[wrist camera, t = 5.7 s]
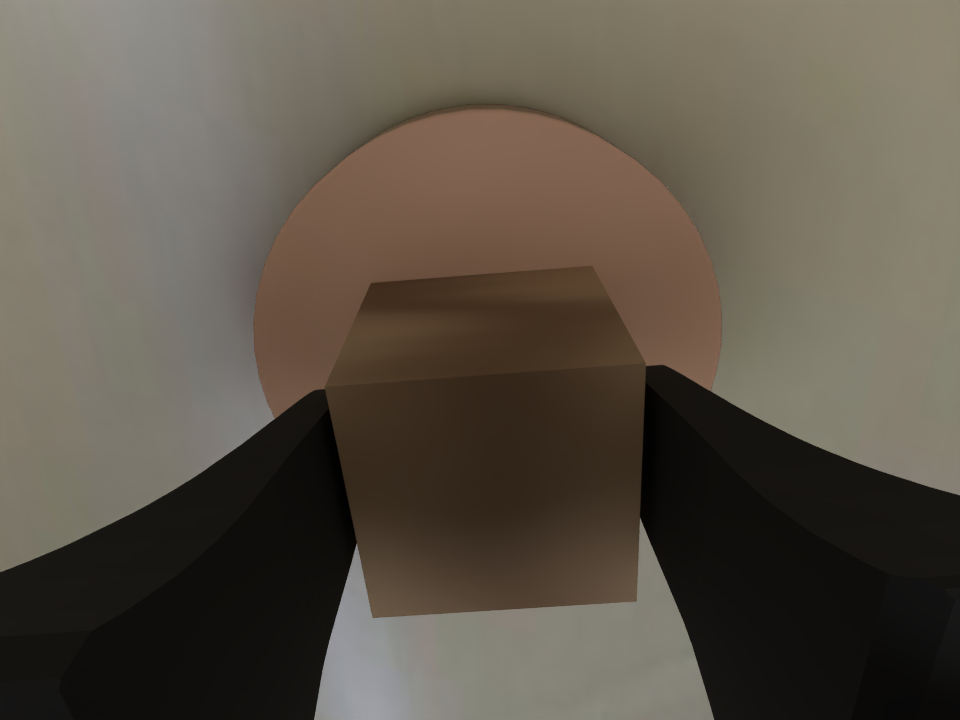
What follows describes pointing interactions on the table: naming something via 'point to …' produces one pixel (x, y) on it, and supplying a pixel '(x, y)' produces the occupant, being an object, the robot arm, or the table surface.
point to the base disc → (483, 237)
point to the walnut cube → (491, 442)
